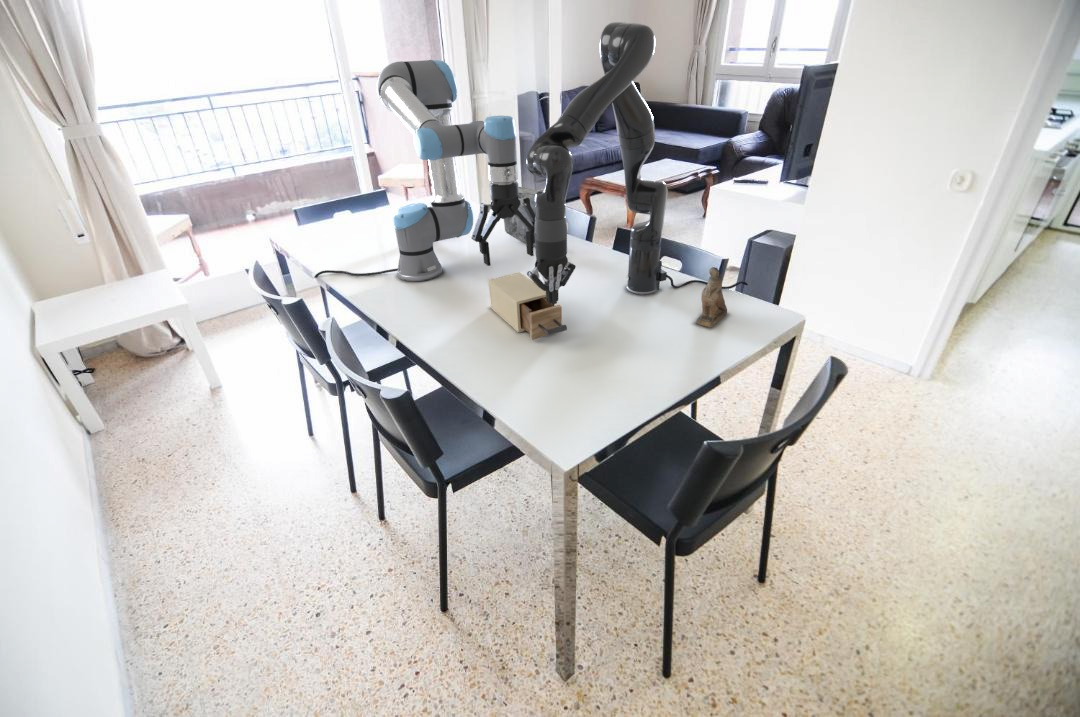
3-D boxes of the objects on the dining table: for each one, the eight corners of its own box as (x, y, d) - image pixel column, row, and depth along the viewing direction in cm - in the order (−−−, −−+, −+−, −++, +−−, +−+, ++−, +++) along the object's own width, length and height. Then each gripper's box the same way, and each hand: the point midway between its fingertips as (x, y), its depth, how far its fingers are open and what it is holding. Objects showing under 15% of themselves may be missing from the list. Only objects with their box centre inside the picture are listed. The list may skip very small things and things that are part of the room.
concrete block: (560, 248, 193) (559, 196, 183) (541, 254, 189) (540, 200, 178) (521, 233, 212) (519, 184, 201) (504, 237, 207) (500, 188, 197)
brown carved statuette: (709, 335, 136) (713, 280, 124) (691, 329, 139) (693, 274, 128) (730, 313, 142) (736, 258, 130) (712, 307, 145) (716, 253, 133)
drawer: (572, 339, 130) (573, 314, 126) (542, 348, 127) (541, 323, 123) (531, 307, 148) (530, 284, 144) (504, 315, 144) (502, 291, 140)
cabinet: (550, 323, 141) (550, 293, 136) (518, 332, 136) (516, 302, 132) (521, 300, 154) (519, 272, 150) (490, 308, 150) (488, 279, 145)
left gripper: (464, 191, 122) (473, 272, 133) (552, 177, 132) (553, 254, 143) (453, 185, 128) (463, 264, 139) (538, 173, 137) (540, 247, 149)
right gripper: (533, 245, 110) (536, 315, 119) (583, 234, 116) (582, 302, 125) (518, 236, 116) (522, 304, 125) (566, 226, 121) (566, 292, 130)
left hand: (509, 259), depth 141 cm, fingers open, 13 cm apart
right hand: (552, 303), depth 125 cm, fingers closed
